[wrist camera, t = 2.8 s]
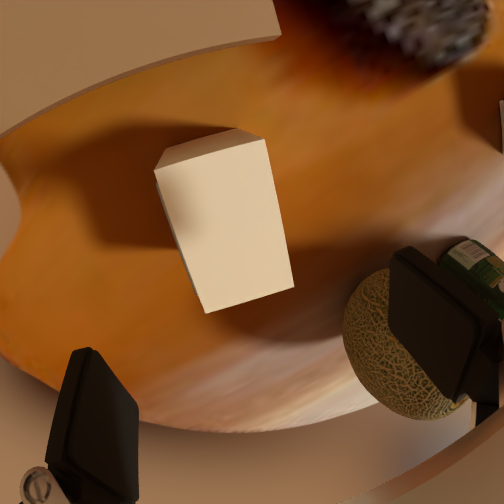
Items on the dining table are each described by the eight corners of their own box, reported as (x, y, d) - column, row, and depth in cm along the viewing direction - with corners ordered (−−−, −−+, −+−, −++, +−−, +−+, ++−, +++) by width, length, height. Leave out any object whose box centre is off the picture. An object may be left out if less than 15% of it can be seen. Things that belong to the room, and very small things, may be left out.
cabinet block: (236, 128, 20) (264, 139, 13) (261, 230, 24) (294, 286, 17) (162, 149, 20) (148, 172, 13) (195, 250, 23) (201, 315, 16)
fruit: (428, 241, 28) (534, 326, 15) (400, 328, 33) (472, 420, 20) (331, 246, 26) (442, 372, 13) (312, 345, 31) (374, 468, 17)
